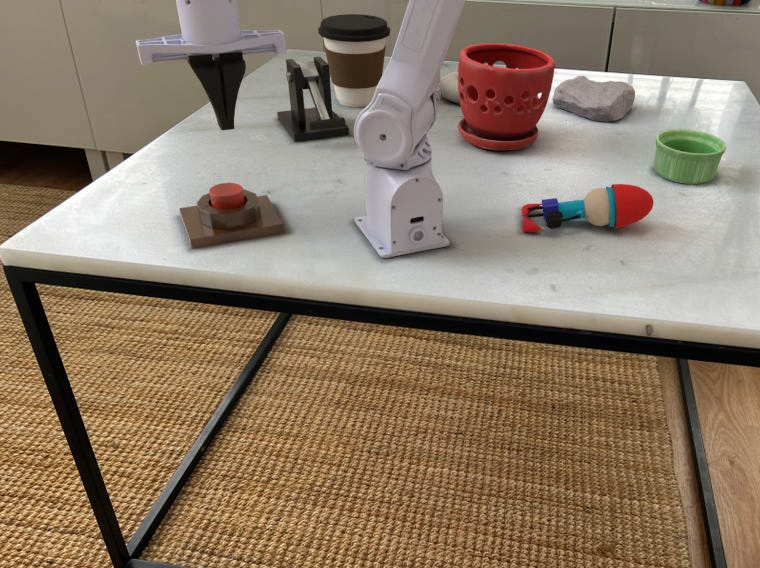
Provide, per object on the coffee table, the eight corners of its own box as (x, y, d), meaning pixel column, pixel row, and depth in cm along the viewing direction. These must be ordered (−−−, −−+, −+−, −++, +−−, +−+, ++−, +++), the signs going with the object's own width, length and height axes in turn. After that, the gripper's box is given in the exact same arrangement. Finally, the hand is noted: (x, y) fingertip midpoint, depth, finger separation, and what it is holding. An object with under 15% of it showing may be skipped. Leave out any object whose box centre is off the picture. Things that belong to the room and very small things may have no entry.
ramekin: (638, 162, 100) (644, 130, 97) (696, 157, 101) (704, 127, 99) (669, 189, 93) (677, 156, 90) (731, 183, 95) (740, 151, 92)
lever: (344, 131, 100) (346, 119, 98) (309, 136, 99) (310, 123, 97) (322, 72, 104) (323, 59, 102) (287, 76, 102) (288, 62, 100)
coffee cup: (354, 86, 122) (351, 10, 115) (405, 100, 117) (404, 21, 110) (309, 102, 115) (302, 21, 108) (360, 118, 110) (357, 34, 103)
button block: (268, 204, 86) (264, 180, 84) (284, 233, 80) (281, 208, 78) (181, 217, 82) (175, 193, 80) (192, 249, 77) (186, 224, 75)
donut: (433, 105, 116) (494, 109, 115) (433, 83, 114) (495, 87, 113) (445, 86, 124) (503, 91, 123) (445, 66, 122) (504, 70, 120)
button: (241, 195, 81) (239, 180, 80) (248, 208, 79) (246, 193, 78) (209, 199, 80) (206, 185, 79) (214, 213, 78) (212, 198, 77)
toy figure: (524, 248, 82) (659, 234, 80) (521, 207, 79) (660, 192, 78) (522, 223, 88) (646, 209, 87) (518, 184, 86) (647, 169, 84)
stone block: (612, 135, 112) (637, 106, 117) (614, 106, 109) (639, 77, 114) (544, 122, 117) (571, 94, 123) (543, 94, 114) (571, 67, 119)
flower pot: (480, 163, 98) (485, 71, 90) (441, 130, 107) (443, 45, 100) (562, 150, 102) (574, 62, 95) (518, 120, 111) (525, 38, 104)
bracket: (349, 136, 104) (345, 69, 98) (295, 142, 101) (288, 74, 96) (329, 113, 111) (324, 50, 105) (277, 119, 108) (270, 54, 103)
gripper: (268, -22, 76) (282, 107, 84) (121, -15, 70) (151, 122, 79) (285, -9, 71) (298, 128, 79) (128, 0, 65) (160, 145, 74)
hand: (226, 126), depth 78 cm, fingers closed
